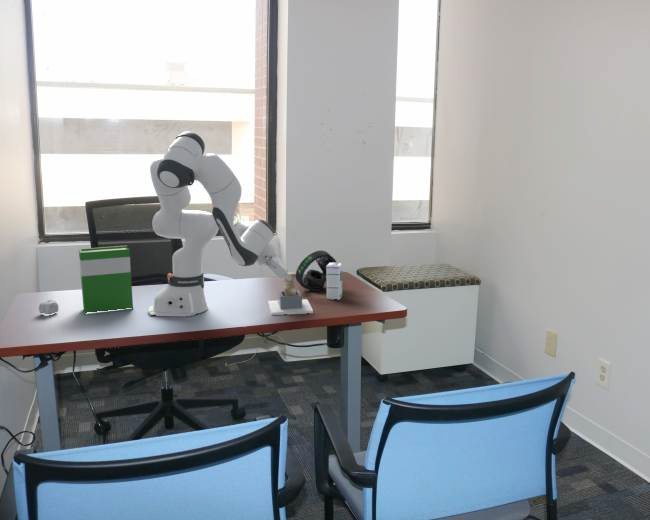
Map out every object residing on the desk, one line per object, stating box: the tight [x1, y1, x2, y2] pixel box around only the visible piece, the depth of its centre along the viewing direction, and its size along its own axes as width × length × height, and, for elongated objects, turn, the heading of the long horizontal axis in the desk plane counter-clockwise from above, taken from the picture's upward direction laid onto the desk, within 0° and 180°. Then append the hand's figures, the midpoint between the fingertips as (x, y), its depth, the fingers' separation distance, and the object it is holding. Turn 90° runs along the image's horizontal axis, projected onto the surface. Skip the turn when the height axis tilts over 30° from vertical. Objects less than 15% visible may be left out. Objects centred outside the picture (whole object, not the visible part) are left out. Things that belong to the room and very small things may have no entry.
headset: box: [295, 250, 338, 292], centre depth 273 cm, size 18×14×29 cm
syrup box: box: [325, 262, 343, 301], centre depth 259 cm, size 6×6×14 cm
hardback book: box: [78, 245, 134, 314], centre depth 240 cm, size 18×7×24 cm, turn 114°
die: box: [38, 299, 60, 314], centre depth 236 cm, size 5×5×5 cm
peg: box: [283, 271, 297, 296], centre depth 244 cm, size 4×4×12 cm
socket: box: [267, 289, 314, 316], centre depth 245 cm, size 16×16×6 cm
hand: (290, 277), depth 243 cm, fingers open, 4 cm apart
